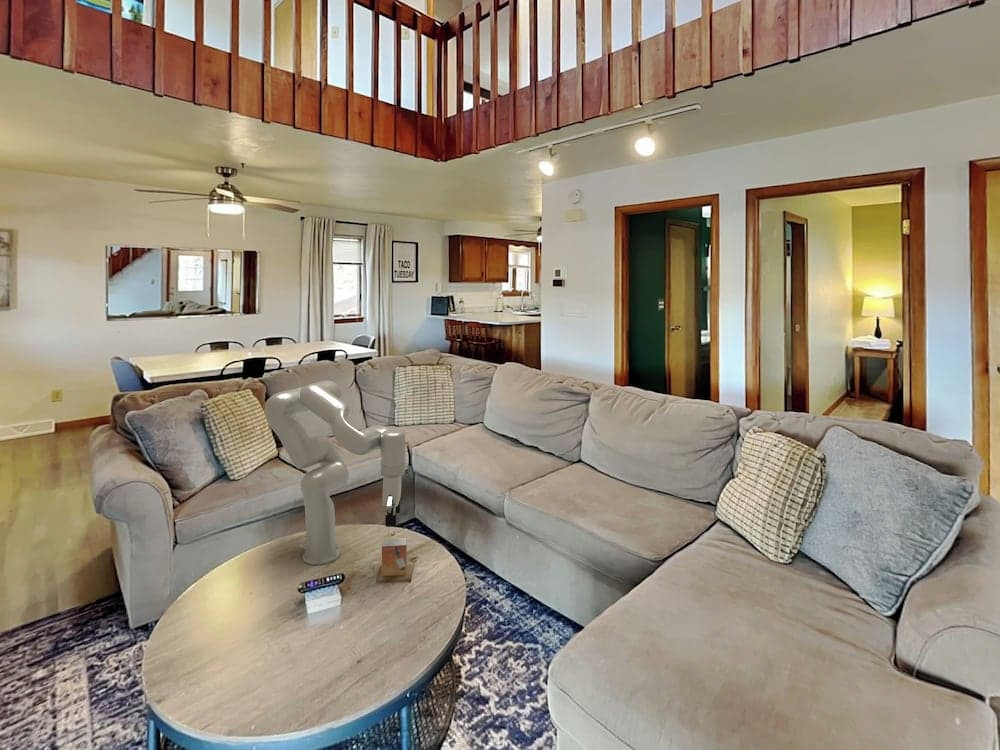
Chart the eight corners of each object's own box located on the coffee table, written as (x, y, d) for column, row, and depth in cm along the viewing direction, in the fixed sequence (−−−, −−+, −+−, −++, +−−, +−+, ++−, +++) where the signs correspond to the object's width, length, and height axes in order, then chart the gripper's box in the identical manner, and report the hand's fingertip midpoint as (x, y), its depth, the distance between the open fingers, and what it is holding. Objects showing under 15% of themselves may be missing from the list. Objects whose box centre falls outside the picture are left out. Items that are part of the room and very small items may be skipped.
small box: (381, 577, 169) (380, 546, 167) (382, 568, 175) (381, 538, 173) (407, 575, 171) (406, 544, 169) (407, 566, 176) (406, 536, 174)
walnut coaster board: (375, 582, 168) (375, 579, 168) (380, 567, 177) (380, 565, 177) (410, 582, 169) (410, 579, 168) (413, 567, 177) (413, 564, 177)
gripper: (385, 459, 175) (385, 508, 178) (376, 478, 158) (376, 532, 161) (407, 459, 175) (407, 508, 178) (401, 478, 158) (401, 532, 161)
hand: (392, 519), depth 170 cm, fingers open, 9 cm apart
